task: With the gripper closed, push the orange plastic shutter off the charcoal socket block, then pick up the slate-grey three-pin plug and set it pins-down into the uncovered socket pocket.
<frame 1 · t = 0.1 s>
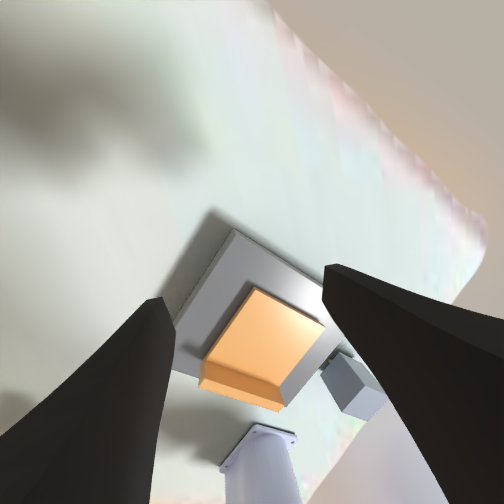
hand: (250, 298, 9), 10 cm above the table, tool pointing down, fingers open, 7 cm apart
plug: (337, 363, 26), on the table
shutter: (266, 352, 17), point 5 cm above the table, slide at 0.0 cm
socket base: (259, 317, 21), on the table
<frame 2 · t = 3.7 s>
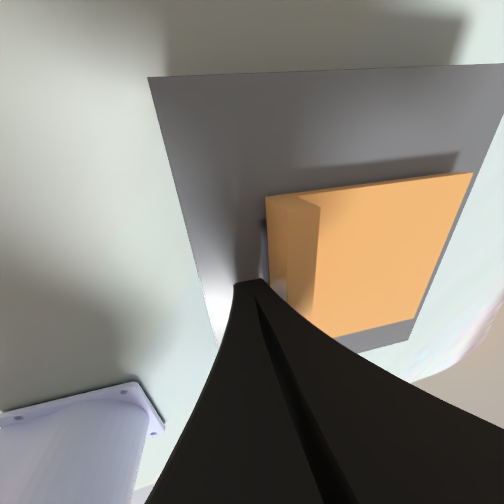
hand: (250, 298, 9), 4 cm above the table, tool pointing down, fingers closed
shutter: (370, 281, 9), point 4 cm above the table, slide at 1.3 cm, touching gripper
socket base: (310, 245, 13), on the table
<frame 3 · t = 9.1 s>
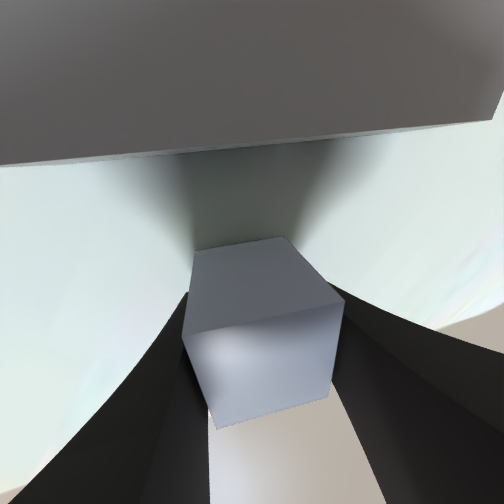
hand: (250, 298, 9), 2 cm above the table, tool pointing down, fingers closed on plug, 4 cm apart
plug: (243, 275, 10), on the table, touching gripper
when the fingers open (4 cm above the table, at t = 12.3 s): plug drops 1 cm, resting on socket base.
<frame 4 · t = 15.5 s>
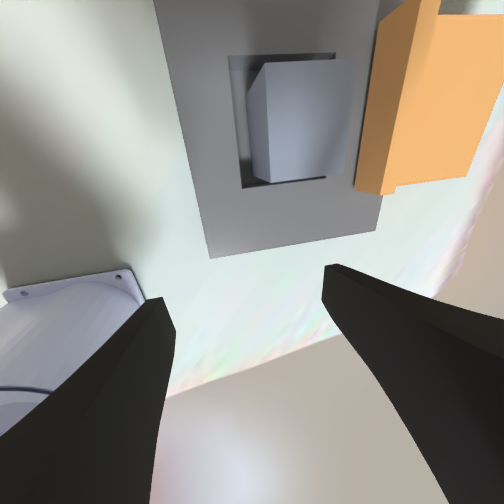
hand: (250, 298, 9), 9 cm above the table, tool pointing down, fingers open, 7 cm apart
plug: (275, 137, 13), point 1 cm above the table, touching socket base
shutter: (445, 110, 11), point 5 cm above the table, slide at 9.1 cm
socket base: (283, 131, 14), on the table
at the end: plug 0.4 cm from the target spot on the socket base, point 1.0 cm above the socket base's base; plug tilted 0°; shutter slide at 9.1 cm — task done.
